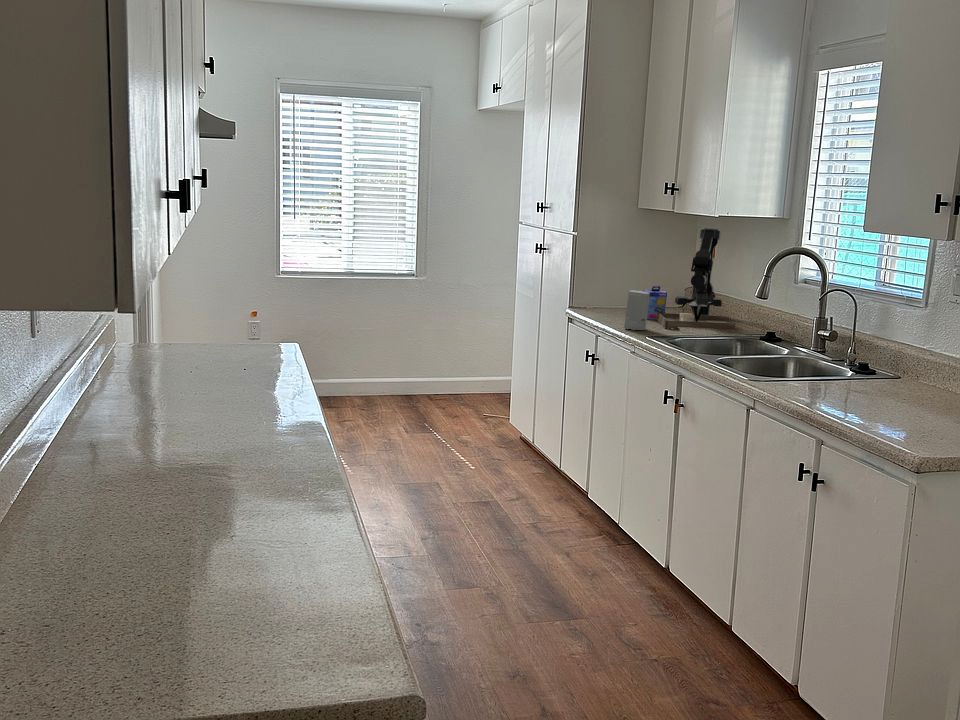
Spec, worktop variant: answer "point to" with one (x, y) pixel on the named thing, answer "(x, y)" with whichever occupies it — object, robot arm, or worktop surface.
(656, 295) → the ink cartridge box
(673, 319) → the trap box
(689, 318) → the maple block
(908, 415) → the worktop surface
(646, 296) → the skincare box
